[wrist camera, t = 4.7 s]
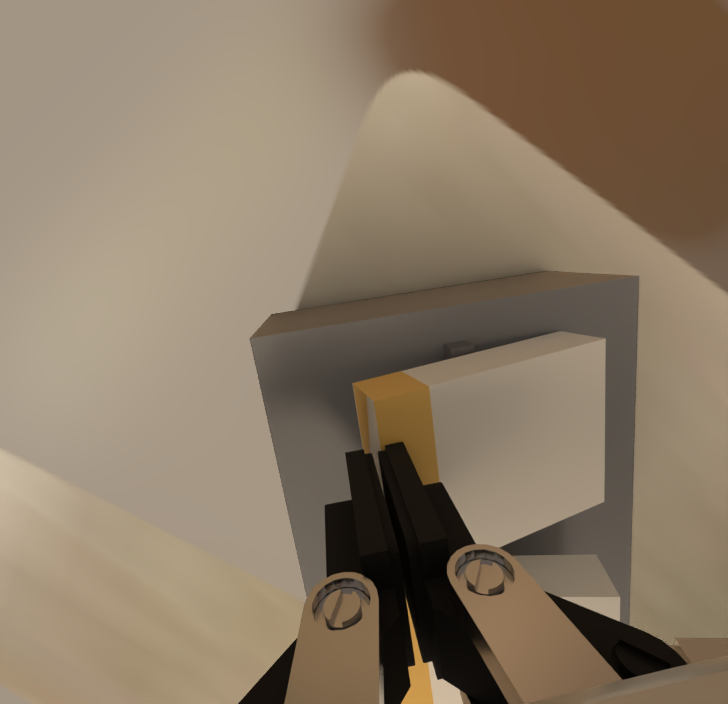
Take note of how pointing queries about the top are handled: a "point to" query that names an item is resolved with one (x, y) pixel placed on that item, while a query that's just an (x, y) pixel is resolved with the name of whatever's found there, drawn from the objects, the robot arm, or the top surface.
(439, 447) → the block
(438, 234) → the top surface
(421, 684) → the block
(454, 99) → the top surface
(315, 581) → the switch console
